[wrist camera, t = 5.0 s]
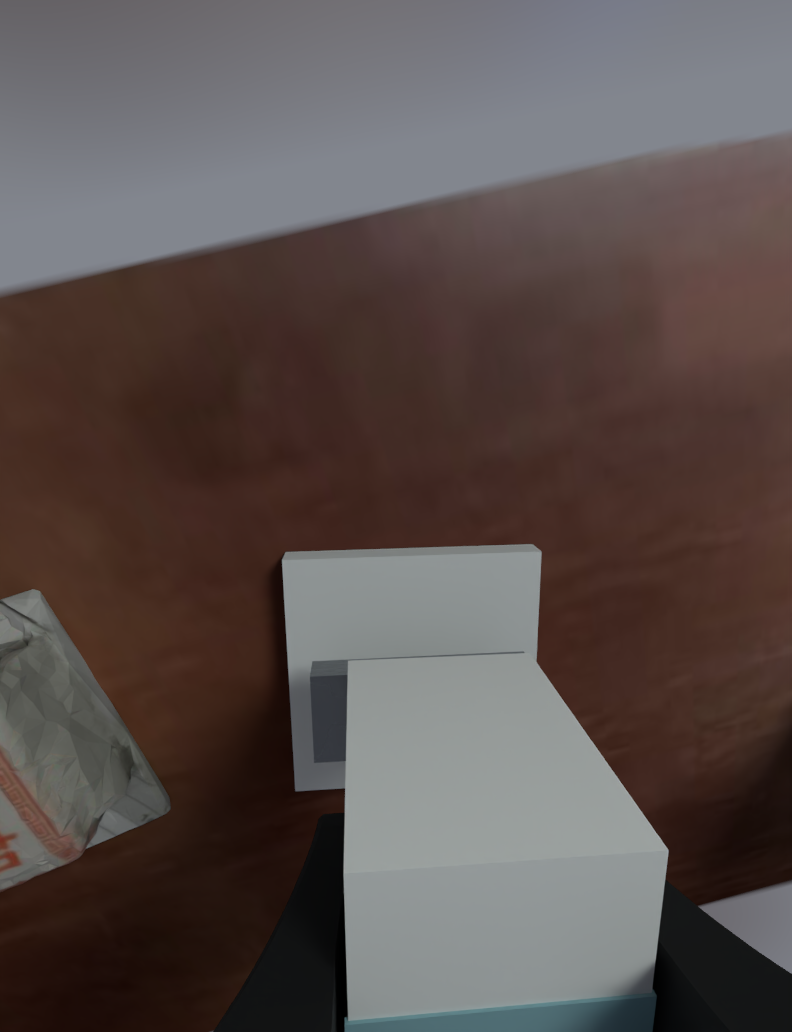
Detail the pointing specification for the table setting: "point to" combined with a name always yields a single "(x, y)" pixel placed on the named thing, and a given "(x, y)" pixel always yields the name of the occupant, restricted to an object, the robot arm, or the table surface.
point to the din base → (399, 617)
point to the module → (490, 857)
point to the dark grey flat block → (337, 706)
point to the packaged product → (60, 750)
